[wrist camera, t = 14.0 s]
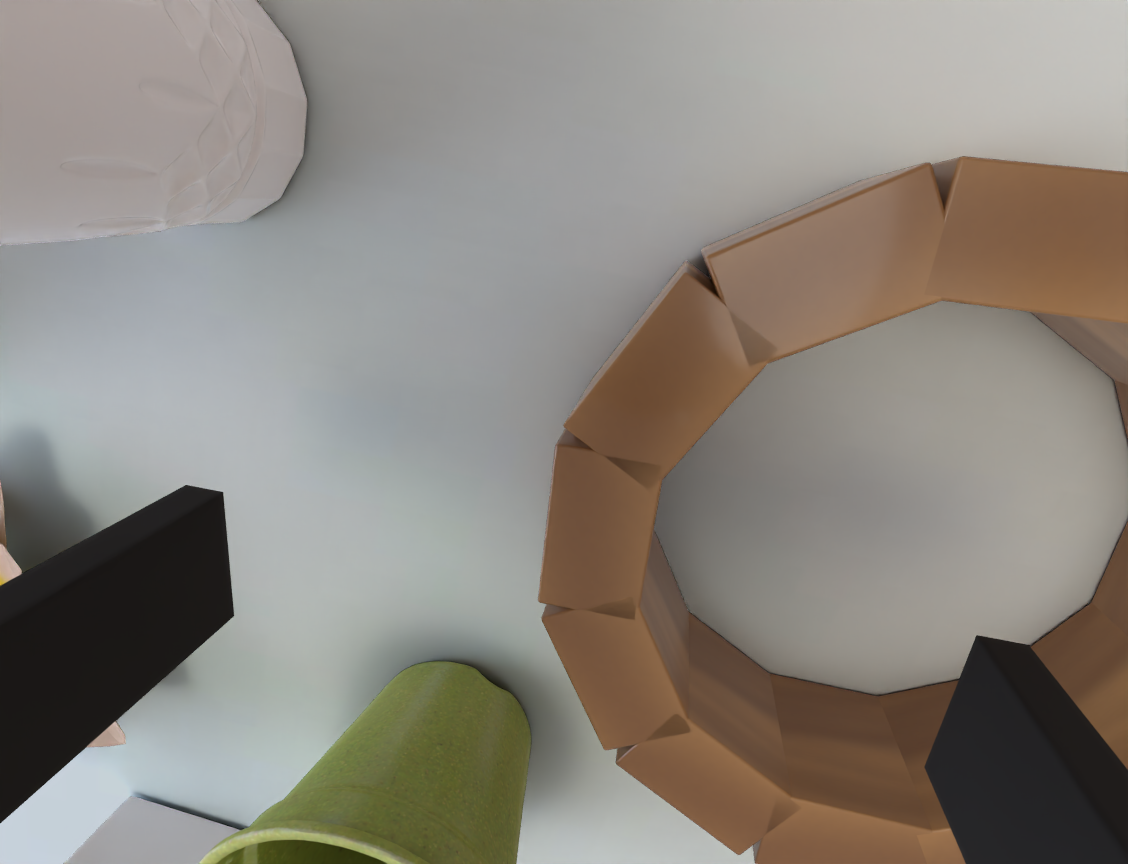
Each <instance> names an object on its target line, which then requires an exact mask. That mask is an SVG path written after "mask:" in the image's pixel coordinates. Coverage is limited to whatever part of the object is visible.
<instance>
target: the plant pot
mask: <svg viewBox="0 0 1128 864" xmlns="http://www.w3.org/2000/svg"><path fill="white" fill-rule="evenodd" d="M530 750H531V732H530V727H529V724H528V720H527V718H526V715H525V713H524V711H523V709H522V708H521V706H520V704H519V703H518V701H517V700H516V699H515V697H514V696H513V695H512V694H511V693H510V692H509V691H506V690H503V689H501V688H499V687H497V686H495V685H494V684H492V683H491V682H489V681H488V680H487V679H486V678H485V677H484V676H483V675H482V674H481V673H480V672H479V671H478V670H477V669H475V668H473V667H470V666H467V665H463V664H459V663H454V662H444V661H432V662H425V663H420V664H417V665H413V666H411V667H409V668H407V669H405V670H403V671H402V672H400V673H399V674H398V675H397V676H396V677H394V678H393V679H392V680H391V681H390V682H389V683H388V684H387V685H386V686H385V687H384V689H383V690H382V691H381V692H380V693H379V694H378V695H377V697H376V698H375V699H374V700H373V701H372V702H371V703H370V704H369V706H368V707H367V708H366V709H365V710H364V711H363V712H362V714H361V715H360V716H359V717H358V718H357V719H356V720H355V721H354V722H353V724H352V725H351V726H350V727H349V728H348V729H347V730H346V731H345V732H344V734H343V735H342V736H341V737H340V738H339V739H338V740H337V741H336V742H335V743H334V745H333V746H332V747H331V748H330V749H329V750H328V751H327V752H326V753H325V755H324V756H323V757H322V758H321V759H320V760H319V761H318V762H317V763H316V765H315V766H314V767H313V768H312V769H311V770H310V771H309V772H308V773H307V774H306V776H305V777H304V778H303V779H302V780H301V781H300V782H299V783H298V784H297V785H296V787H295V788H294V789H293V790H292V791H291V792H290V793H289V794H288V795H287V796H286V797H285V799H284V800H282V801H280V802H278V803H277V804H275V805H273V806H272V807H270V808H269V809H267V810H266V811H265V812H263V813H262V814H261V815H260V816H259V817H258V818H257V819H256V820H255V821H254V822H253V823H252V825H251V826H250V827H248V828H245V829H243V830H240V831H238V832H236V833H234V834H232V835H230V836H229V837H227V838H225V839H224V840H222V841H221V842H219V843H218V844H217V845H216V846H214V847H213V848H212V849H211V850H210V851H209V852H208V853H207V854H206V855H205V857H204V858H203V859H202V860H201V861H200V862H199V864H516V861H517V852H518V844H519V835H520V827H521V819H522V810H523V803H524V796H525V789H526V782H527V774H528V765H529V757H530Z"/></svg>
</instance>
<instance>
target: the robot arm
mask: <svg viewBox="0 0 1128 864" xmlns="http://www.w3.org/2000/svg"><path fill="white" fill-rule="evenodd" d="M233 616H234V610H233V598H232V587H231V576H230V565H229V554H228V542H227V531H226V520H225V509H224V498H223V492H220V491H214V490H209V489H204V488H199V487H193V486H188V485H185V486H183V487H182V488H180V489H178V490H176V491H174V492H172V493H171V494H169V495H167V496H165V497H163V498H161V499H159V500H158V501H156V502H154V503H152V504H150V505H148V506H146V507H145V508H143V509H141V510H139V511H137V512H135V513H134V514H132V515H130V516H128V517H126V518H124V519H122V520H121V521H119V522H117V523H115V524H113V525H111V526H110V527H108V528H106V529H104V530H102V531H100V532H98V533H97V534H95V535H93V536H91V537H89V538H87V539H85V540H84V541H82V542H80V543H78V544H76V545H74V546H73V547H71V548H69V549H67V550H65V551H63V552H61V553H60V554H58V555H56V556H54V557H52V558H50V559H48V560H47V561H45V562H43V563H41V564H39V565H37V566H36V567H34V568H32V569H30V570H28V571H26V572H24V573H23V574H21V575H19V576H17V577H15V578H13V579H11V580H10V581H8V582H6V583H4V584H2V585H0V823H1V822H2V821H3V820H5V819H6V818H7V817H8V816H9V815H10V814H11V813H13V812H14V811H15V810H16V809H17V808H18V807H19V806H20V805H22V804H23V803H24V802H25V801H26V800H27V799H28V798H29V797H31V796H32V795H33V794H34V793H35V792H36V791H37V790H38V789H40V788H41V787H42V786H43V785H44V784H45V783H46V782H47V781H49V780H50V779H51V778H52V777H53V776H54V775H55V774H56V773H58V772H59V771H60V770H61V769H62V768H63V767H64V766H65V765H67V764H68V763H69V762H70V761H71V760H72V759H73V758H75V757H76V756H77V755H78V754H79V753H80V752H81V751H82V750H84V749H85V748H86V747H87V746H88V745H89V744H90V743H91V742H93V741H94V740H95V739H96V738H97V737H98V736H99V735H100V734H102V733H103V732H104V731H105V730H106V729H107V728H108V727H109V726H111V725H112V724H113V723H114V722H115V721H116V720H117V719H118V718H120V717H121V716H122V715H123V714H124V713H125V712H126V711H127V710H129V709H130V708H131V707H132V706H133V705H134V704H135V703H137V702H138V701H139V700H140V699H141V698H142V697H143V696H144V695H146V694H147V693H148V692H149V691H150V690H151V689H152V688H153V687H155V686H156V685H157V684H158V683H159V682H160V681H161V680H162V679H164V678H165V677H166V676H167V675H168V674H169V673H170V672H171V671H173V670H174V669H175V668H176V667H177V666H178V665H179V664H180V663H182V662H183V661H184V660H185V659H186V658H187V657H188V656H189V655H191V654H192V653H193V652H194V651H195V650H196V649H197V648H199V647H200V646H201V645H202V644H203V643H204V642H205V641H206V640H208V639H209V638H210V637H211V636H212V635H213V634H214V633H215V632H217V631H218V630H219V629H220V628H221V627H222V626H223V625H224V624H226V623H227V622H228V621H229V620H230V619H231V618H232V617H233ZM924 768H925V770H926V772H927V775H928V777H929V779H930V782H931V784H932V786H933V789H934V791H935V793H936V795H937V798H938V800H939V802H940V805H941V807H942V809H943V812H944V814H945V816H946V819H947V821H948V823H949V826H950V828H951V830H952V833H953V835H954V837H955V840H956V842H957V844H958V847H959V849H960V851H961V854H962V856H963V858H964V861H965V863H966V864H1128V769H1127V768H1126V767H1125V765H1124V764H1123V763H1122V762H1121V760H1120V759H1119V758H1118V757H1117V755H1116V754H1115V753H1114V752H1113V750H1112V749H1111V748H1110V747H1109V745H1108V744H1107V743H1106V742H1105V740H1104V739H1103V738H1102V737H1101V735H1100V734H1099V733H1098V731H1097V730H1096V729H1095V728H1094V726H1093V725H1092V724H1091V723H1090V721H1089V720H1088V719H1087V718H1086V716H1085V715H1084V714H1083V713H1082V711H1081V710H1080V709H1079V708H1078V706H1077V705H1076V704H1075V703H1074V701H1073V700H1072V699H1071V697H1070V696H1069V695H1068V694H1067V692H1066V691H1065V690H1064V689H1063V687H1062V686H1061V685H1060V684H1059V682H1058V681H1057V680H1056V679H1055V677H1054V676H1053V675H1052V674H1051V672H1050V671H1049V670H1048V669H1047V667H1046V666H1045V665H1044V663H1043V662H1042V661H1041V660H1040V658H1039V657H1038V656H1037V655H1036V653H1035V652H1034V651H1033V650H1032V648H1031V647H1030V646H1029V645H1025V644H1020V643H1014V642H1009V641H1004V640H999V639H993V638H988V637H983V636H978V635H977V636H976V638H975V641H974V643H973V646H972V648H971V651H970V653H969V656H968V658H967V661H966V663H965V666H964V668H963V671H962V673H961V676H960V678H959V681H958V683H957V686H956V688H955V691H954V693H953V696H952V698H951V701H950V704H949V706H948V709H947V711H946V714H945V716H944V719H943V721H942V724H941V726H940V729H939V731H938V734H937V736H936V739H935V741H934V744H933V746H932V749H931V751H930V754H929V756H928V759H927V761H926V764H925V766H924Z"/></svg>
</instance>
